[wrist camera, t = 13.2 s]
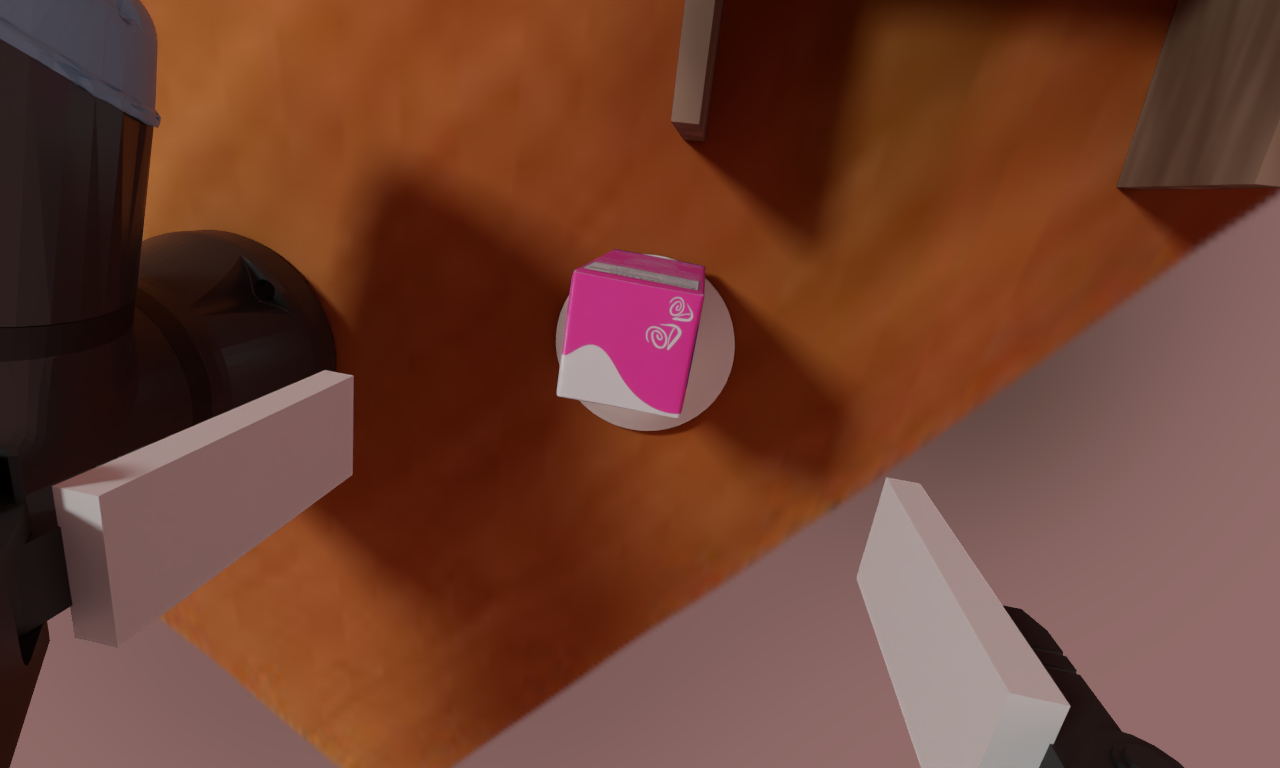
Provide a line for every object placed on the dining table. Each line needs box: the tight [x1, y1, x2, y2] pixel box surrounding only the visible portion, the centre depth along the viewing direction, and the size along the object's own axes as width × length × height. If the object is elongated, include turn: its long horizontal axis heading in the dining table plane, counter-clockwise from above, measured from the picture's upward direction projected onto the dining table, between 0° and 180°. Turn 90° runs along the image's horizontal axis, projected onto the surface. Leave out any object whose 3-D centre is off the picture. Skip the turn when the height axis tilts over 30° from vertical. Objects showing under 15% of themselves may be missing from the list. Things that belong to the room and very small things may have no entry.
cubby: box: [671, 0, 1280, 190], centre depth 28 cm, size 24×13×9 cm, turn 83°
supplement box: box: [557, 250, 705, 419], centre depth 32 cm, size 6×6×12 cm
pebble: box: [556, 254, 735, 431], centre depth 38 cm, size 11×11×1 cm
